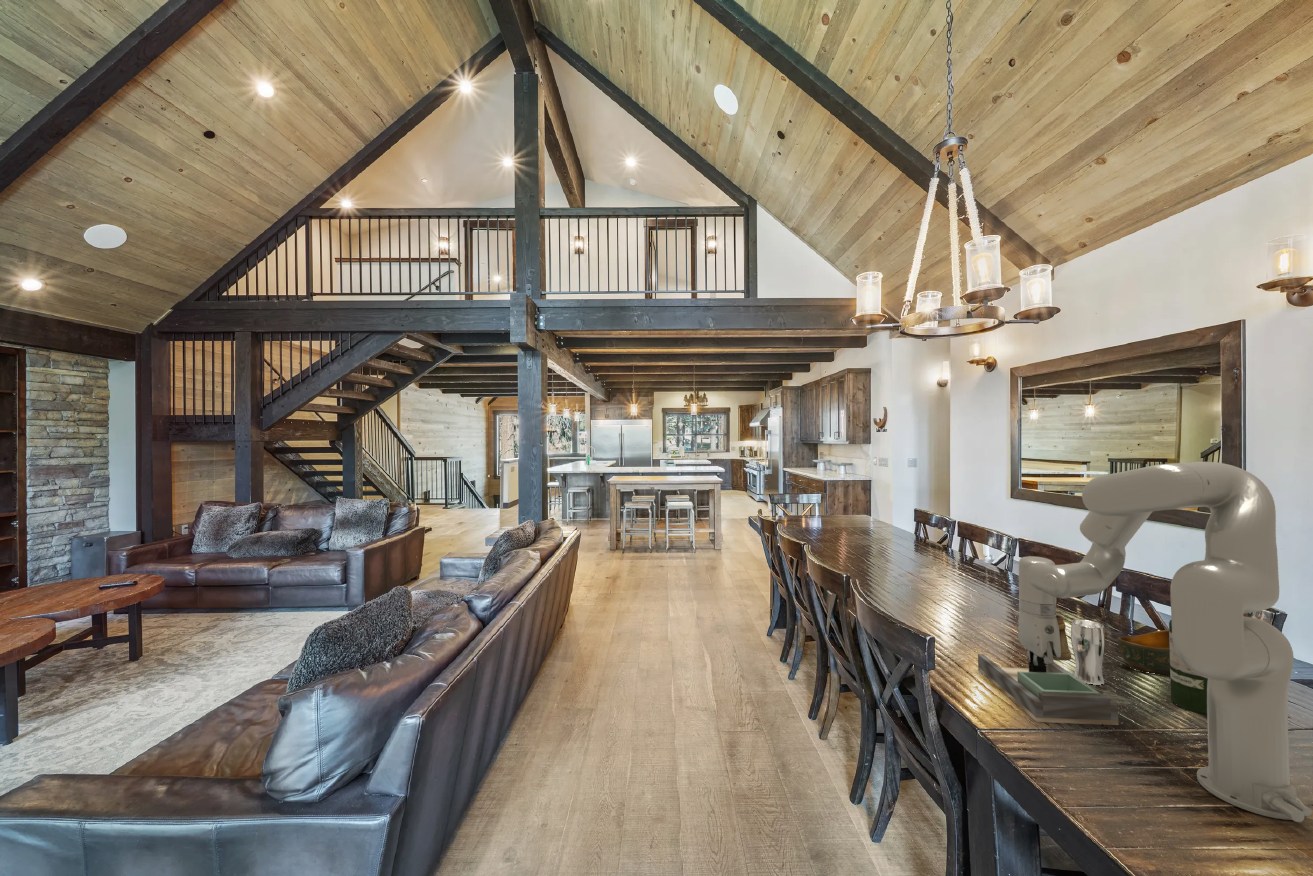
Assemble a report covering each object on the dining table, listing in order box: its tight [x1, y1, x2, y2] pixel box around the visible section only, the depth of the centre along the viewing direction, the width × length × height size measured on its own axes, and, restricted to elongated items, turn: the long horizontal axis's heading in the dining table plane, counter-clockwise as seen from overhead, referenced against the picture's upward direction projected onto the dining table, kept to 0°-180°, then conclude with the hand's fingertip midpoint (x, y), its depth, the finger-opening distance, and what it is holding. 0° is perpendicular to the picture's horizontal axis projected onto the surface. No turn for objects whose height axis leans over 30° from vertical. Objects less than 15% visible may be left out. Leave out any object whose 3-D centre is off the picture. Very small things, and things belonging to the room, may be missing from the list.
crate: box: [1017, 672, 1101, 699], centre depth 121 cm, size 10×12×5 cm
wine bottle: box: [1168, 619, 1208, 715], centre depth 121 cm, size 8×8×30 cm
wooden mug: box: [1053, 597, 1072, 661], centre depth 153 cm, size 9×14×18 cm, turn 151°
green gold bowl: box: [1117, 629, 1170, 676], centre depth 140 cm, size 13×20×10 cm, turn 59°
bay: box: [977, 653, 1119, 726], centre depth 128 cm, size 26×17×6 cm, turn 173°
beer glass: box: [1070, 618, 1106, 686], centre depth 135 cm, size 7×7×15 cm
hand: (1037, 679), depth 129 cm, fingers closed
